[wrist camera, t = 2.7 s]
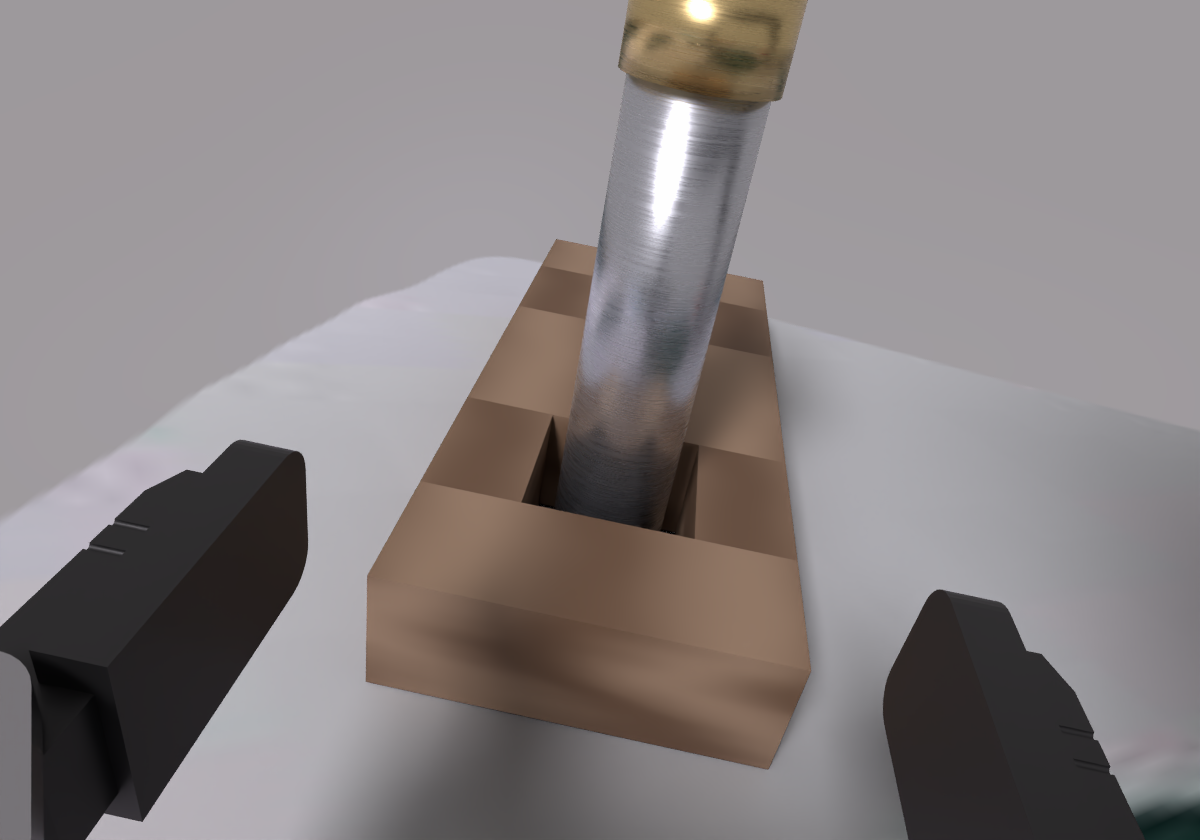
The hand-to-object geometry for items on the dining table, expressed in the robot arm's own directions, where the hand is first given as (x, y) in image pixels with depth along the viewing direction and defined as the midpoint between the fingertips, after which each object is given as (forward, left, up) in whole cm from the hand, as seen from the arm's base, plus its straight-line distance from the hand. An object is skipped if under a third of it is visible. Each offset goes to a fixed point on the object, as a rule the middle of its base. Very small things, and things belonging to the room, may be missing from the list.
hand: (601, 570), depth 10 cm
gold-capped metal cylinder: (0, -11, -10) cm, 15 cm away
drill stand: (0, -17, -10) cm, 20 cm away
